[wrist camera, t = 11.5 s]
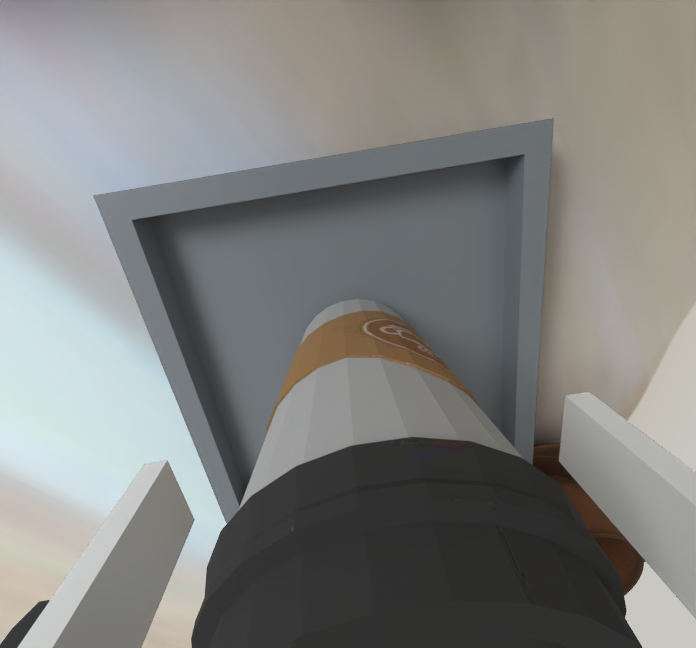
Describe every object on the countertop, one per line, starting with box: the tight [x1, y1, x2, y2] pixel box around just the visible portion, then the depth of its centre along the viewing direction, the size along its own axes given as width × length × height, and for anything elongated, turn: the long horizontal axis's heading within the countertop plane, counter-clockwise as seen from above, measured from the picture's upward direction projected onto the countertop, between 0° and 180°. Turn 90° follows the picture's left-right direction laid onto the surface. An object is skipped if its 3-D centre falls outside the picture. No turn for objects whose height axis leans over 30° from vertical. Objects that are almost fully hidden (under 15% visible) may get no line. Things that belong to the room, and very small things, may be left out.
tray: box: [94, 118, 554, 523], centre depth 19 cm, size 20×20×2 cm
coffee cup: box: [191, 299, 642, 648], centre depth 12 cm, size 8×8×15 cm
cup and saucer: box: [533, 444, 646, 595], centre depth 23 cm, size 12×12×6 cm
